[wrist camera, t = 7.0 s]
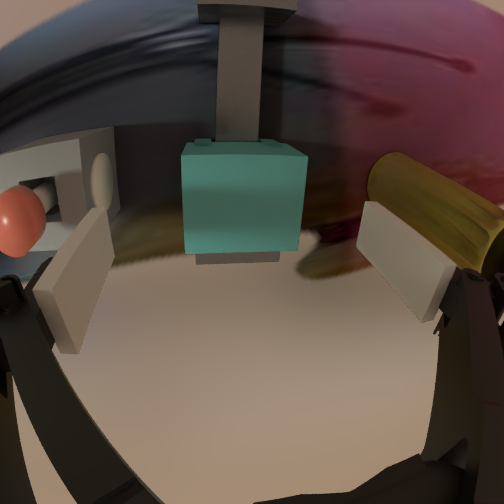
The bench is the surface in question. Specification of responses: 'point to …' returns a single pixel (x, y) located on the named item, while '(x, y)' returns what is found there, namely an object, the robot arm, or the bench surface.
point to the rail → (240, 81)
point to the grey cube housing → (66, 178)
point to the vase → (441, 212)
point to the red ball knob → (24, 216)
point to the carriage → (242, 196)
